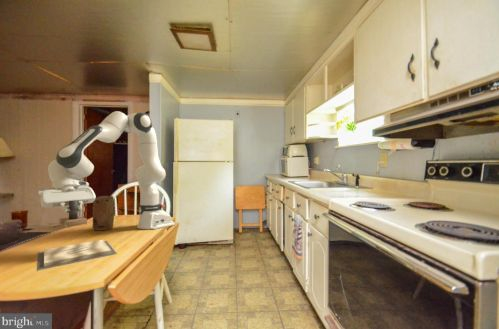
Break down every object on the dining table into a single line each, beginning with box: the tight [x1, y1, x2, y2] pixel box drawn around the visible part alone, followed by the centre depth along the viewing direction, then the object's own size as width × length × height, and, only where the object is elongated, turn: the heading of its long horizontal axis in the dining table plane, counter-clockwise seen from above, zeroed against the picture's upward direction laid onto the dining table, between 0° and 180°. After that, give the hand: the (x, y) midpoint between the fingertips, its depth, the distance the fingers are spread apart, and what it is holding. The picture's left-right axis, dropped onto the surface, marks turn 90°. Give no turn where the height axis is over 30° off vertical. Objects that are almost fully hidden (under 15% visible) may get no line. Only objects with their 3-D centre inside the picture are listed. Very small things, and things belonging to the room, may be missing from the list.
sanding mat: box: [36, 240, 118, 271], centre depth 104 cm, size 26×23×1 cm
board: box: [43, 239, 111, 267], centre depth 104 cm, size 22×19×2 cm
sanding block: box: [58, 200, 88, 228], centre depth 107 cm, size 10×7×10 cm
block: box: [92, 195, 115, 231], centre depth 145 cm, size 11×8×20 cm
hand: (74, 211), depth 106 cm, fingers closed on sanding block, 3 cm apart
